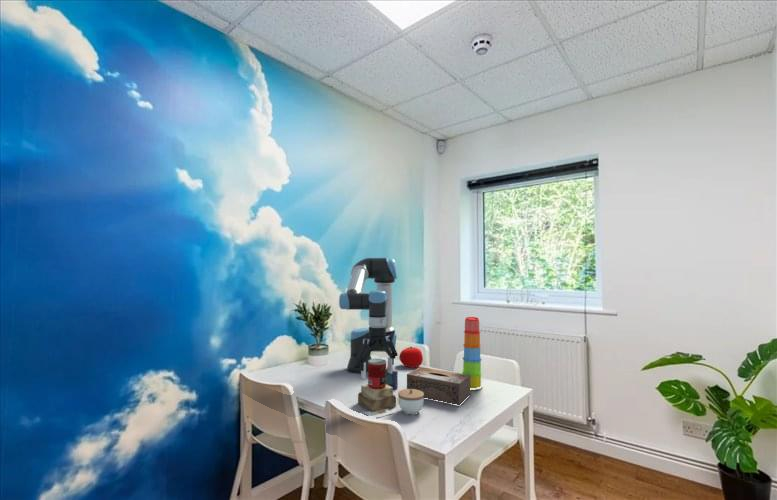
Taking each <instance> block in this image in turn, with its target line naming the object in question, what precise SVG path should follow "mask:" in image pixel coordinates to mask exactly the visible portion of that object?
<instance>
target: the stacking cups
mask: <svg viewBox="0 0 777 500" xmlns="http://www.w3.org/2000/svg"><path fill="white" fill-rule="evenodd" d="M463 333H464V337H463V338H464V343H463V345H462V346H463V357H462V360H463V366H462V368H463V370H462V371H461V374H467V375H470V388H477V387H480V386H481V385H482V375H483V372H482V366H481V365H482V360H483V359H482V357H481V347H482V345H481V330H480V319H479V318H478V317H475V316H467V317H465V319H464V331H463Z"/></svg>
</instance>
